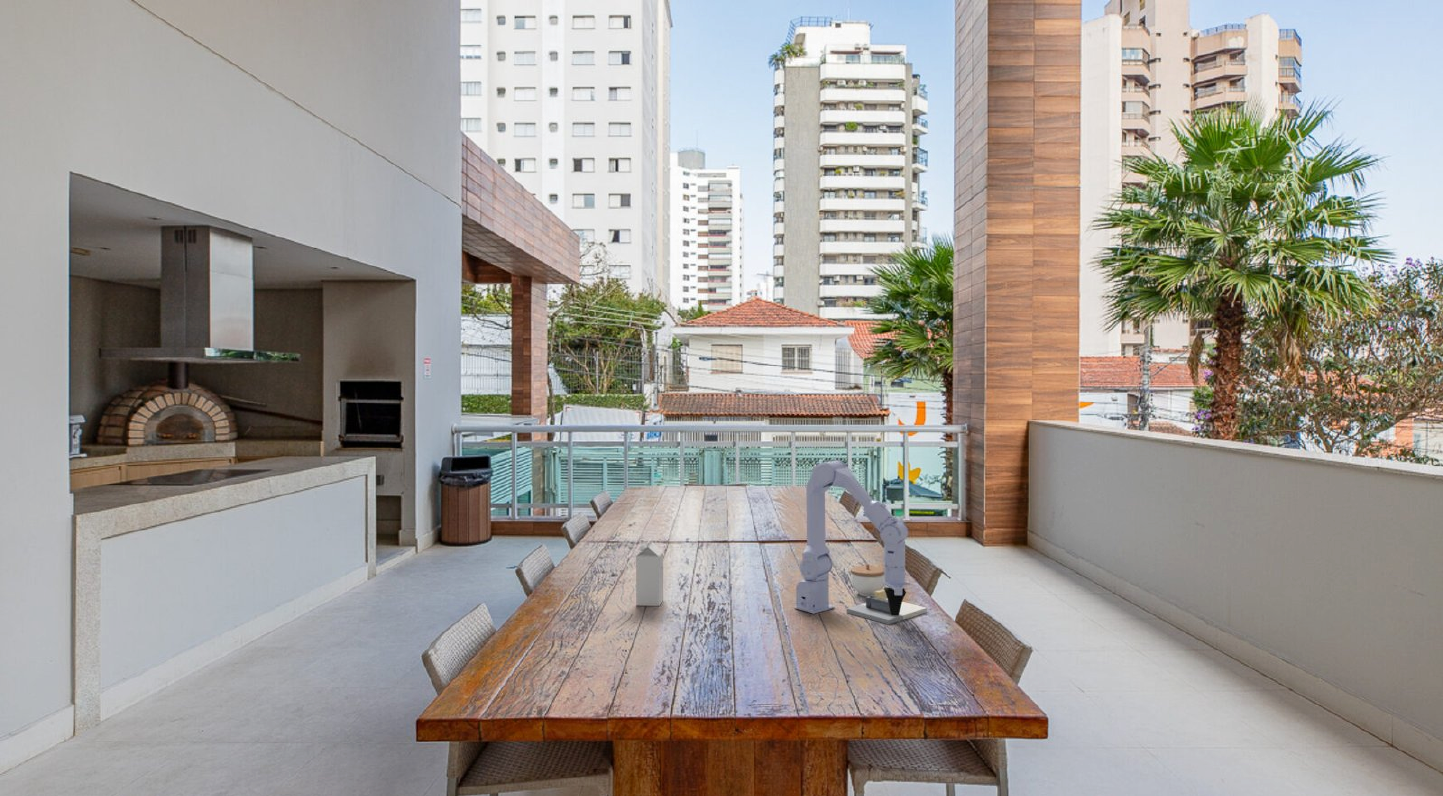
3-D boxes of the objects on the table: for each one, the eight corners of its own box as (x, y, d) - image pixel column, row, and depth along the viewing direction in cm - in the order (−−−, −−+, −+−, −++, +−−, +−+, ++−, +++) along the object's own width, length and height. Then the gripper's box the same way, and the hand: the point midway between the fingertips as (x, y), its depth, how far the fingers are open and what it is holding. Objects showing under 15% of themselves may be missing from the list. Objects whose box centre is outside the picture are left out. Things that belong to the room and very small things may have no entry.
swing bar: (863, 606, 222) (863, 596, 222) (869, 604, 224) (869, 594, 224) (893, 614, 214) (892, 604, 214) (899, 612, 216) (899, 602, 216)
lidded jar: (888, 598, 236) (888, 568, 236) (853, 598, 236) (853, 568, 236) (881, 589, 247) (881, 560, 247) (848, 589, 247) (848, 560, 247)
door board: (888, 624, 210) (888, 609, 210) (846, 612, 221) (846, 598, 221) (927, 611, 221) (927, 598, 221) (885, 601, 233) (885, 588, 233)
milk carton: (663, 600, 235) (663, 538, 235) (659, 606, 228) (659, 543, 228) (640, 599, 236) (640, 538, 236) (635, 606, 229) (635, 542, 229)
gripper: (913, 572, 204) (913, 622, 204) (905, 560, 218) (905, 607, 219) (887, 571, 205) (887, 622, 205) (880, 559, 219) (880, 606, 219)
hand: (894, 614), depth 212 cm, fingers closed
